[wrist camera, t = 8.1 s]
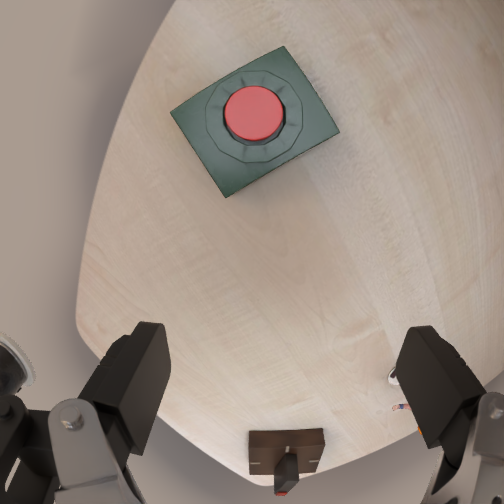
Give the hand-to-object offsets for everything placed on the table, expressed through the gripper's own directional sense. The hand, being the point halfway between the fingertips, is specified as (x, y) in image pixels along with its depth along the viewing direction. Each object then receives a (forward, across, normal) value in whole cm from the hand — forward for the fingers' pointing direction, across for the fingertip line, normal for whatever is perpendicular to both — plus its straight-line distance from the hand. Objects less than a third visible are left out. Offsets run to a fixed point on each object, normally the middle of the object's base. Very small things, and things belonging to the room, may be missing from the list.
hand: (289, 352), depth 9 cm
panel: (+16, -4, +33) cm, 37 cm away
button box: (+17, +2, -8) cm, 19 cm away
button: (+13, +2, -8) cm, 15 cm away
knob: (+13, -4, +33) cm, 35 cm away
